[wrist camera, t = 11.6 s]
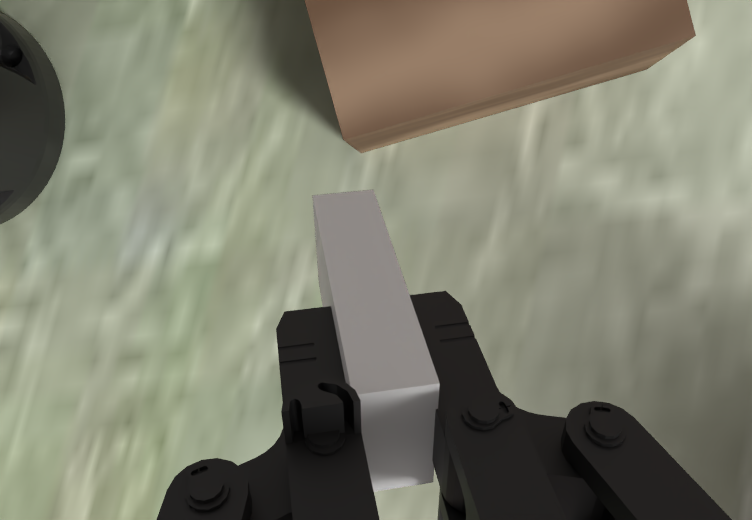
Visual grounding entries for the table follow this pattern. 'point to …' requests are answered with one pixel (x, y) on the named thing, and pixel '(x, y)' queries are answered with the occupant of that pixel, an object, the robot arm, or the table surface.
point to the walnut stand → (477, 56)
